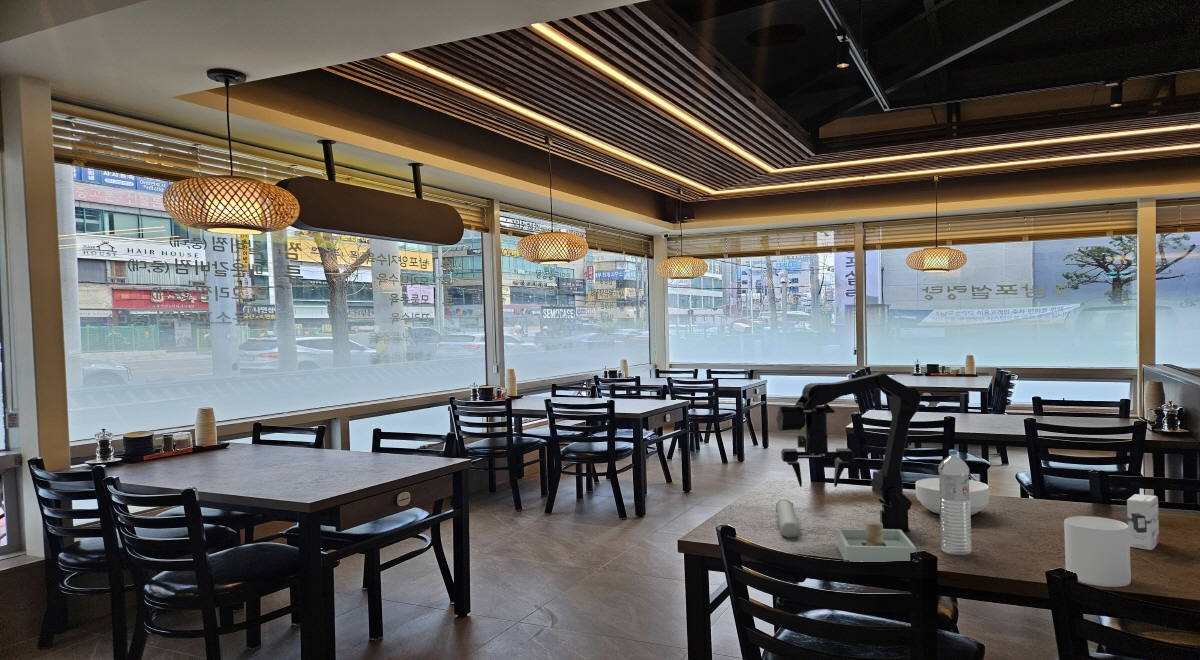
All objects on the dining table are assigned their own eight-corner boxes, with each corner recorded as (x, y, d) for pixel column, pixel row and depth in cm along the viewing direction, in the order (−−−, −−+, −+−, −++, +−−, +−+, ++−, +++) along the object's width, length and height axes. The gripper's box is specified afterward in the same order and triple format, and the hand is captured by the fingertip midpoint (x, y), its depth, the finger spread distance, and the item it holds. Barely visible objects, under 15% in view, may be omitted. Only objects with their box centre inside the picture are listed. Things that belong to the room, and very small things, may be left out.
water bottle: (957, 557, 176) (954, 453, 176) (934, 550, 183) (931, 449, 183) (978, 553, 179) (974, 450, 179) (954, 546, 185) (951, 447, 185)
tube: (802, 525, 195) (796, 502, 220) (783, 518, 196) (778, 496, 221) (796, 544, 196) (790, 519, 220) (777, 537, 197) (773, 513, 221)
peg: (881, 553, 181) (880, 521, 181) (885, 558, 177) (884, 525, 177) (864, 553, 182) (863, 521, 182) (867, 558, 178) (866, 525, 178)
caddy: (901, 547, 186) (900, 529, 186) (916, 567, 170) (916, 547, 170) (837, 546, 188) (836, 528, 188) (846, 565, 173) (846, 546, 173)
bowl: (1003, 513, 215) (1002, 484, 215) (966, 525, 204) (965, 495, 204) (939, 501, 231) (938, 475, 231) (902, 512, 220) (901, 484, 220)
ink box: (1135, 539, 186) (1134, 492, 186) (1160, 542, 183) (1158, 495, 183) (1127, 546, 180) (1126, 498, 180) (1152, 550, 177) (1151, 501, 177)
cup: (1126, 591, 152) (1125, 533, 152) (1061, 579, 159) (1059, 524, 159) (1134, 575, 160) (1132, 521, 160) (1071, 565, 168) (1069, 513, 168)
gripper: (845, 425, 208) (847, 480, 208) (778, 426, 210) (780, 480, 210) (854, 430, 197) (855, 489, 197) (782, 431, 199) (784, 489, 199)
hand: (818, 486), depth 201 cm, fingers open, 9 cm apart
